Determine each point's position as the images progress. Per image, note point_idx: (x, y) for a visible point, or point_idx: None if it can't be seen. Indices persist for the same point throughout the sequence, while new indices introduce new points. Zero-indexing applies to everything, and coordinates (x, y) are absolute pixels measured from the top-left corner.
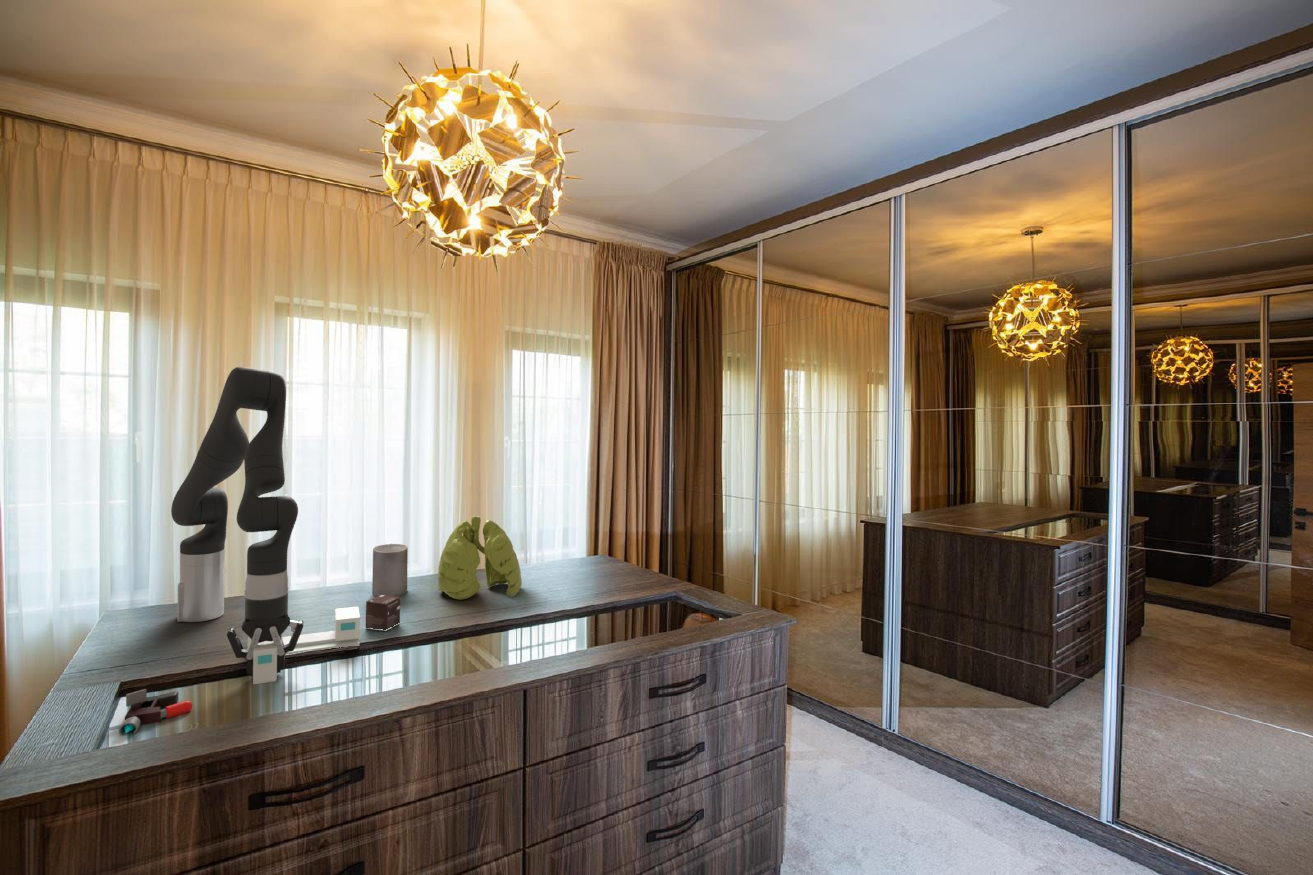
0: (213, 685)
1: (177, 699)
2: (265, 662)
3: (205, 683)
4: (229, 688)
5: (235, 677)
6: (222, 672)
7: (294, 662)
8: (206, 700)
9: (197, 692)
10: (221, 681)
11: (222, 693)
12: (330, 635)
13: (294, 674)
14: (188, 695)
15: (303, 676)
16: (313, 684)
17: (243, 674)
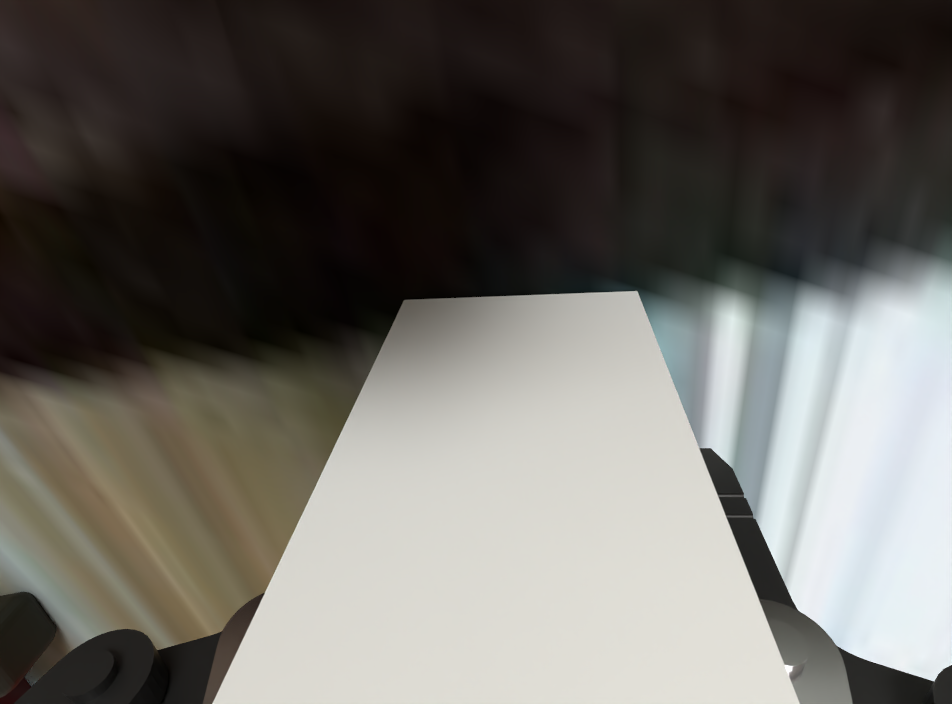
0: (127, 456)
1: (33, 639)
2: None
3: (33, 400)
4: (282, 539)
5: (239, 359)
6: (29, 180)
7: (864, 115)
8: (210, 635)
9: (79, 527)
10: (151, 404)
11: (266, 589)
12: None
13: (789, 467)
14: (47, 548)
15: (859, 529)
16: (892, 664)
17: (290, 311)
